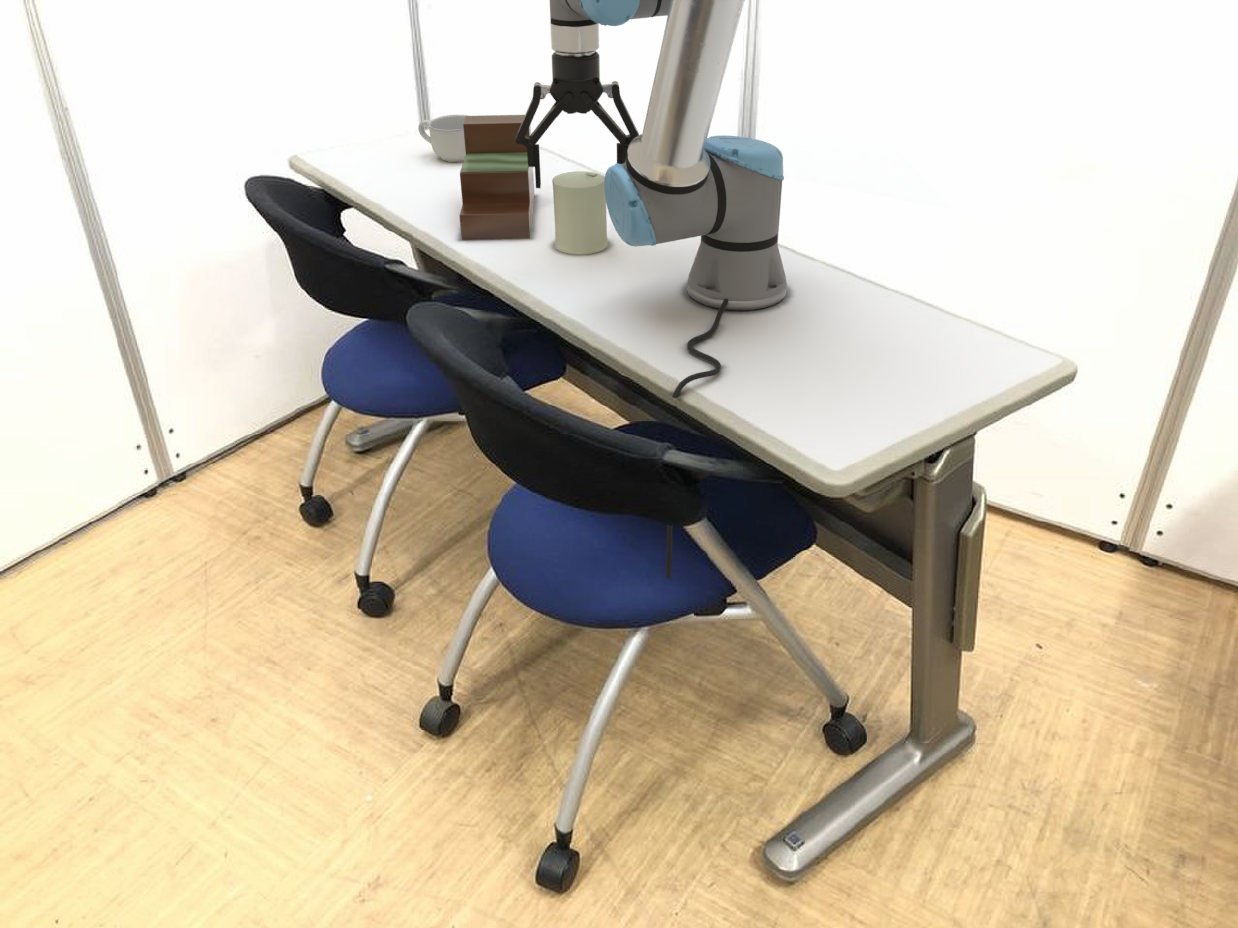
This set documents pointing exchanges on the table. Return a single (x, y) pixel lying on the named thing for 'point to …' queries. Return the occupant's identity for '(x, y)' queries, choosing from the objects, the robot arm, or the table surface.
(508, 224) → the shelf riser
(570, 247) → the can
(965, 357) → the table surface
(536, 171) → the robot arm
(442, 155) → the teacup
